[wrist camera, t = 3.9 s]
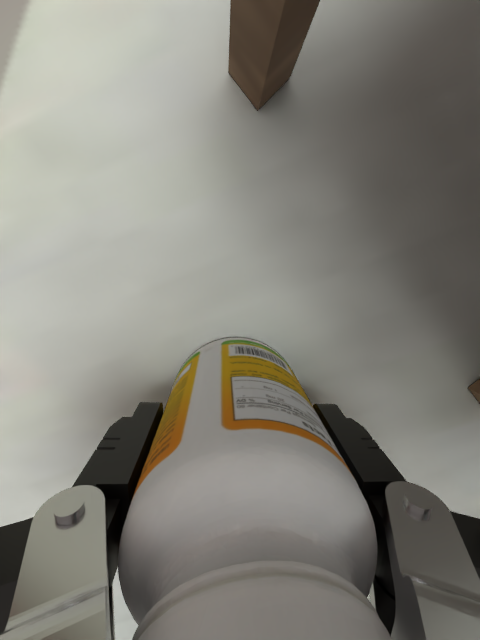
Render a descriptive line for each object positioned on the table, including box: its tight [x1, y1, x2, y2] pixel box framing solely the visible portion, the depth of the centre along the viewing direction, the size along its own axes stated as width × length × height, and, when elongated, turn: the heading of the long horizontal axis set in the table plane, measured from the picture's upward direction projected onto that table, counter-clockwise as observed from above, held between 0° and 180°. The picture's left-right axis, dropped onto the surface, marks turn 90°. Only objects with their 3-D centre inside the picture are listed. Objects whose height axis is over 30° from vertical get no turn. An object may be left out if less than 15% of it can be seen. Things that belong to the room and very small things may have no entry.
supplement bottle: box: [118, 338, 392, 640], centre depth 8 cm, size 5×5×10 cm
